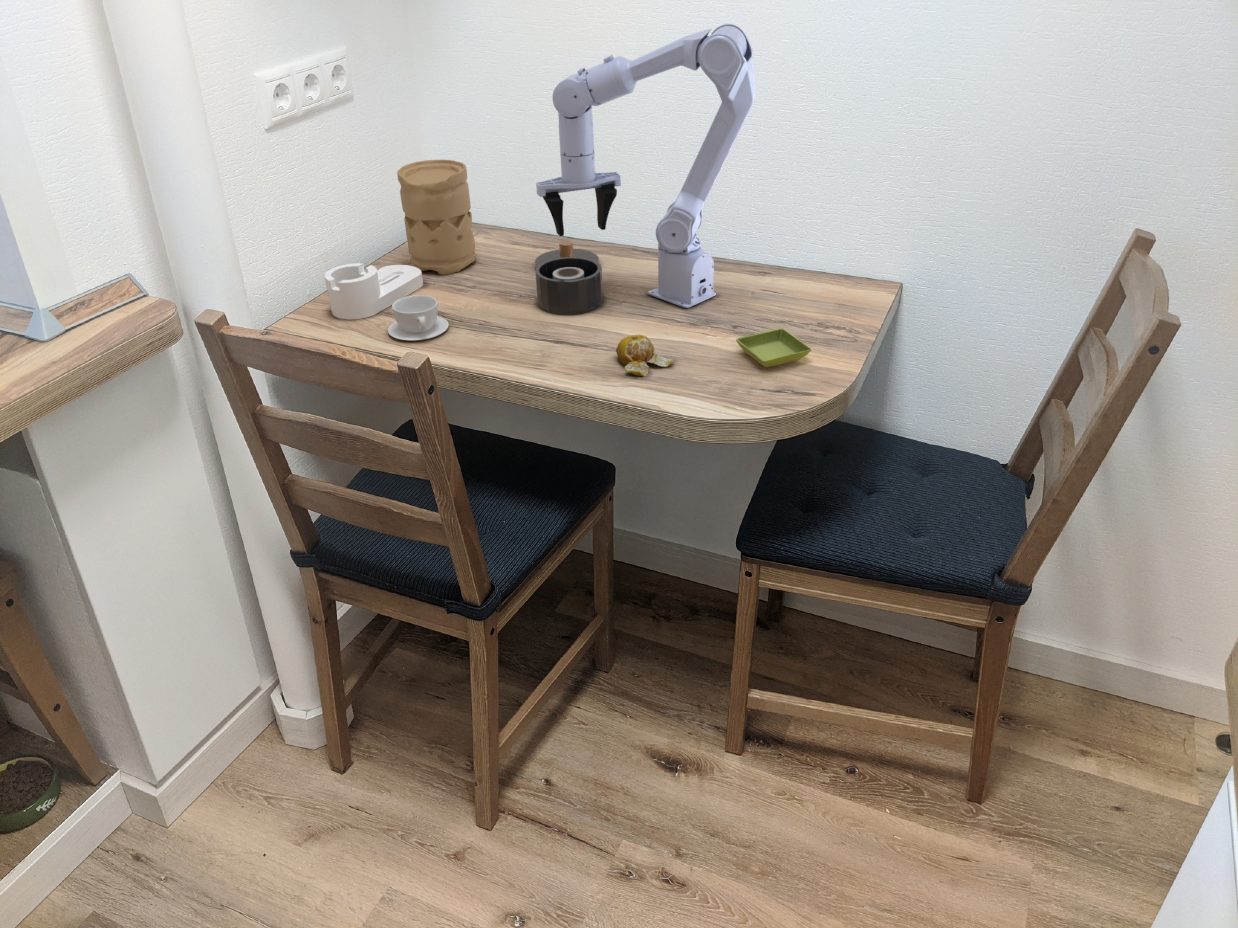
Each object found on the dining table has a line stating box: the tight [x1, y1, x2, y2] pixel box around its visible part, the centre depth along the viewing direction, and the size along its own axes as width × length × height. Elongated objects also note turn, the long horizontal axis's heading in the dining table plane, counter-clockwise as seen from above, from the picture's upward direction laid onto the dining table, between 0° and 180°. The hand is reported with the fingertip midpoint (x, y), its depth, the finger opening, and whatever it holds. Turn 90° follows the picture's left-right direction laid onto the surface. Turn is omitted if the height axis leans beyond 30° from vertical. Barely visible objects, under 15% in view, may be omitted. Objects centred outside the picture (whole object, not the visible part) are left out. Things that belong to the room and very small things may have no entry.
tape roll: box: [553, 267, 584, 280], centre depth 166 cm, size 5×5×5 cm
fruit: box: [615, 334, 675, 377], centre depth 146 cm, size 8×8×4 cm
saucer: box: [735, 328, 812, 369], centre depth 147 cm, size 9×9×2 cm
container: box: [396, 159, 477, 275], centre depth 180 cm, size 13×13×18 cm
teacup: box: [387, 294, 449, 341], centre depth 158 cm, size 10×10×5 cm
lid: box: [534, 240, 600, 269], centre depth 181 cm, size 12×12×4 cm
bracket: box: [324, 262, 424, 321], centre depth 170 cm, size 20×9×7 cm, turn 153°
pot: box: [534, 257, 604, 316], centre depth 166 cm, size 11×11×6 cm
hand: (581, 231), depth 167 cm, fingers open, 7 cm apart
